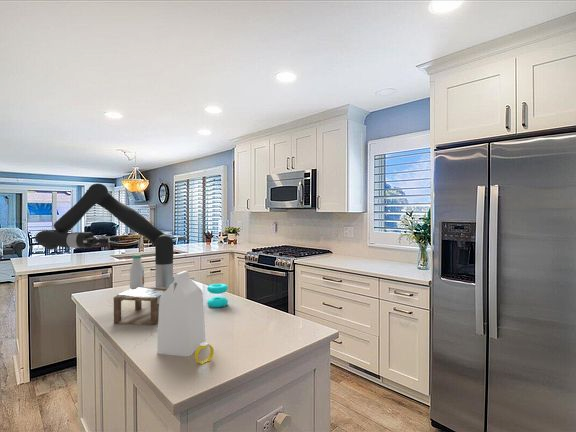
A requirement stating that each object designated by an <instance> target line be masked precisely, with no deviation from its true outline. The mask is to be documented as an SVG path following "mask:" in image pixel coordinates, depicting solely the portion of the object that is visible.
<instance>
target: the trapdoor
mask: <svg viewBox="0 0 576 432" xmlns="http://www.w3.org/2000/svg"><path fill="white" fill-rule="evenodd" d="M164 292H165V291H162V290H155V289H148V288H141V287H139V288H137V289H130V288H129V289H127V290H125V291H122V292H120V293H118V294H117V295H116V296H131V297H158V299H160V296H161V295H162V294H163V293H164ZM122 301H124V300H121V302H122Z"/></svg>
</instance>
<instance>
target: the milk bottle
mask: <svg viewBox="0 0 576 432" xmlns="http://www.w3.org/2000/svg"><path fill="white" fill-rule="evenodd" d="M141 260H142V255H141V254H135V255H134V254H133V255H132V263H131V266H130V269H129V289H130V288H131V289H135V288H136V287H145V269H144V265H143V263H142V261H141Z"/></svg>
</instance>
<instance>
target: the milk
mask: <svg viewBox="0 0 576 432" xmlns="http://www.w3.org/2000/svg"><path fill="white" fill-rule="evenodd" d="M158 300H159V302H158V304H159V319H158V323H157V341H156V343H157V345H156V348H157V349H156V354H159V355H168V356H177V357H187V356H189V357H190V356H192V355H193V354H194V353H195V352H196V350H197V348H198V347H199V346H200V343H202V342H207V341H206V340H207V339H206V330H205V327H206V325H205V309H204V293H203V291H202V289H201V288H200V287H199V286H198V285H197V283H195V282H194V281H193V279H191V278H190V274H189V270H183V271H181V272H177V273H175V274H174V282H173V283H172V284H171V285H170V286H169V288H168V289H167V290H166V291H165V292H164V293H163V294H162V295H161V296H160V297H159V298H158ZM194 351H195V352H194ZM193 352H194V353H193ZM192 353H193V354H192Z"/></svg>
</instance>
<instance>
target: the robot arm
mask: <svg viewBox="0 0 576 432" xmlns="http://www.w3.org/2000/svg"><path fill="white" fill-rule="evenodd" d="M108 189H109V188H107V186H106V185H105V184H104V183H101V182H100V183H93V184H91V185H90V186H89V187H88V189H87V190H86V191H85V192H84V194H83V195H82V197H80V199H79V200H78V201H77V202H76V203H75V204H74V205H72V207H70V209H68V210H67V211H66V212H65V213H64V214H63V215H62V216H60V217H59V218H58V220H56V221H55V222H54V223H53V227H54V229H55V230H49V229H48V230H47V229H45V230H41V231H39V232H37V234H36V235H35V237H34V239H35V242H36V243H37V244H39V245H40V246H41V247H43V248H45V249H47V250H49V251H50V250H51V251H52V250H56V249H57V248H58V247H60V248H72V249H74V248H75V249H91V248H93V246H94V245H100V244H104V245H105V244H109V243H112V242H114V243H118V242H120V236H113V235H111V236H109V235H108V236H106V235H95V234H94V233H93V232H91V231H88V232H87V231H86V232H85V231H81V232H79V231H78V232H77V231H76V232H70V231H71V230H72V229H73V228H74V227H75V226H76V225H77V224H79V222H80V221H81V220H82V218H83V217H85V215H86V213H87V212H88V211H89V210H90V209H92V208H93V207H94V206H95V205H98V206H99V207H101V208H103V209H105V210H106V211H107V212H108V213H110V214H112V216H113V217H114V218H116V219H117V220H118V221H119V222H121V223H122V224H123V225H125V226H126V227H128V228H129V229H130V230H132V231H133V232H135V233H136V234H138V235H141V236H143V237H145V238H146V239H147V240H148V241H150V242H151V243H152V244H153V245H154V246H155V247H154V249H155V255H154V256H155V261H154V262H155V288H169V286H170V285H171V284H172V283H173V282H174V279H175V275H174V240H173V238H172V237H171V236H170V235H168V234H166V233H164V232H163V231H162V230H159V229H158V228H157V227H155V226H154V225H153V224H152V223H151V222H150V221H149V220H148V219H147V218H145V217H144V216H143V215H142V214H141V213H139V211H137V210H135V209H134V208H133V207H130V206H129V205H127V204H125V203H123V202H120V201H119V200H118V199H117V198H115V196H113V195H112V194H111V193H109V190H108Z"/></svg>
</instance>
